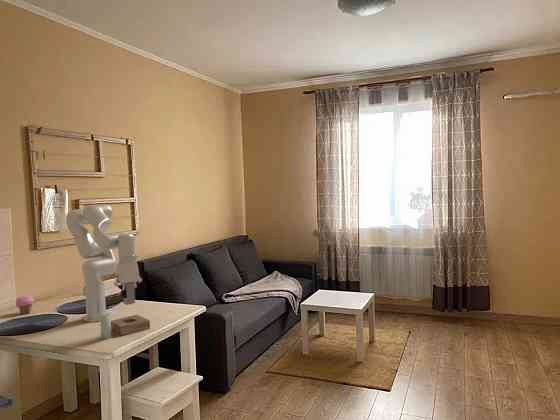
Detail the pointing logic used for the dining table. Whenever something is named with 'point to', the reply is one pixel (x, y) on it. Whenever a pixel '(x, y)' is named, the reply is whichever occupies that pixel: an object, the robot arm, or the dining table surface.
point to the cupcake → (24, 304)
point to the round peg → (105, 326)
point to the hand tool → (113, 300)
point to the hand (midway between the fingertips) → (129, 296)
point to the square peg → (129, 294)
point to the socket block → (130, 325)
